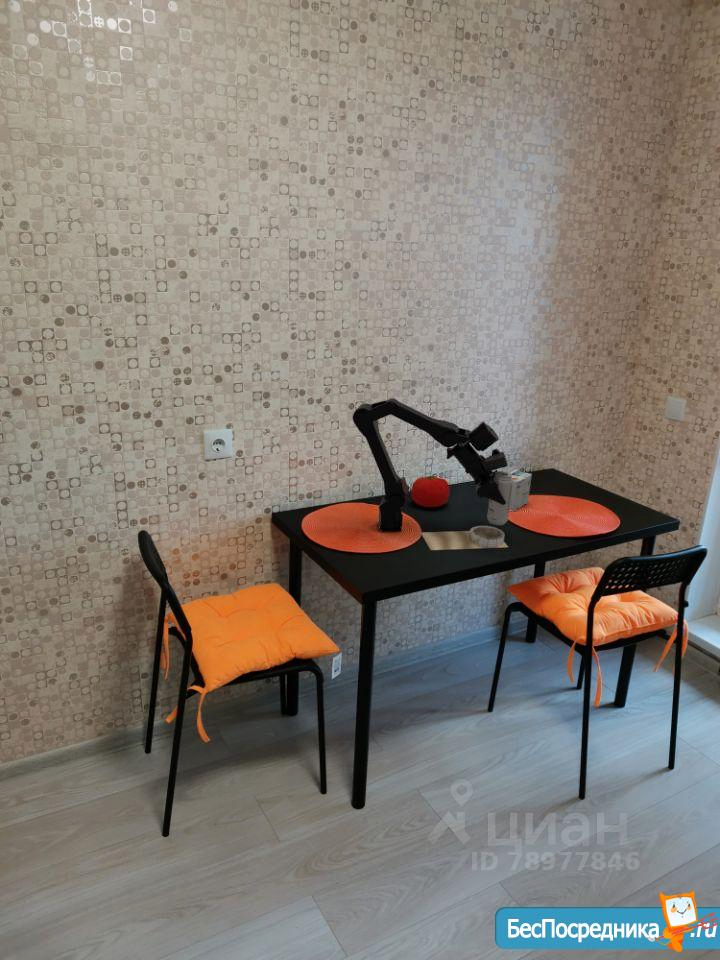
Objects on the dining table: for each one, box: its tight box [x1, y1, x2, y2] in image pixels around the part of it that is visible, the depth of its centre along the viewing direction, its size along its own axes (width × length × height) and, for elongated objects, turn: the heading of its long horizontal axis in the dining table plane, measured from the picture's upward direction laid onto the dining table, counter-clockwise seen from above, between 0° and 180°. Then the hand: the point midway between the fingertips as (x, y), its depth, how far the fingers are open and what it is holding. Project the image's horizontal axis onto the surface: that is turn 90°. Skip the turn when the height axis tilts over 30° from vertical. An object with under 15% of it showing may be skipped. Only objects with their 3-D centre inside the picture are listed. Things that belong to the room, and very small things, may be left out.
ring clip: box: [469, 525, 505, 549], centre depth 214 cm, size 10×10×2 cm
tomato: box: [410, 474, 451, 508], centre depth 241 cm, size 11×13×10 cm
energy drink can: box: [486, 470, 513, 526], centre depth 214 cm, size 6×6×15 cm
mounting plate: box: [420, 530, 509, 551], centre depth 215 cm, size 23×12×1 cm, turn 100°
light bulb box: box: [508, 469, 533, 512], centre depth 243 cm, size 11×7×11 cm, turn 141°
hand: (504, 500), depth 214 cm, fingers closed on energy drink can, 6 cm apart
